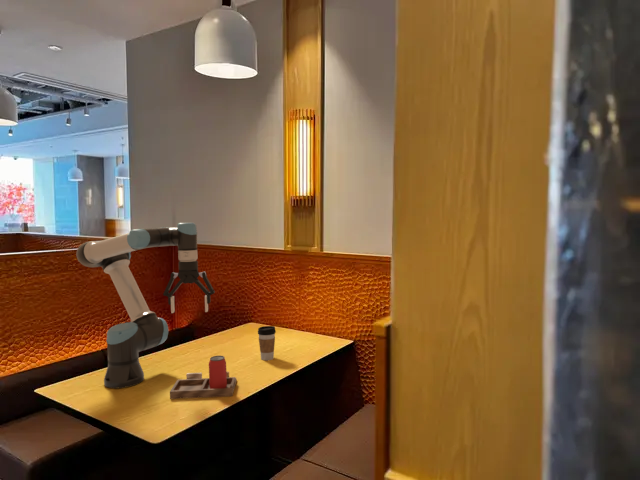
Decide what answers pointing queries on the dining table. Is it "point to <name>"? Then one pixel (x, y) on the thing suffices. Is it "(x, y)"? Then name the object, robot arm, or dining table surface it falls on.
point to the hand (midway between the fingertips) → (189, 312)
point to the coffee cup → (267, 342)
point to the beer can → (217, 372)
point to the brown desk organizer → (200, 387)
